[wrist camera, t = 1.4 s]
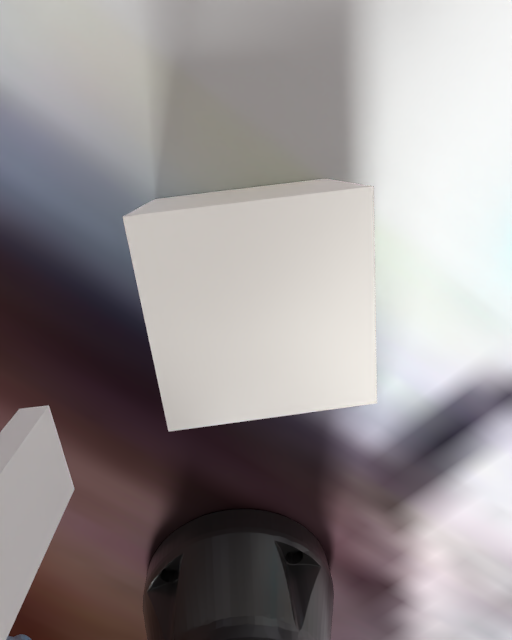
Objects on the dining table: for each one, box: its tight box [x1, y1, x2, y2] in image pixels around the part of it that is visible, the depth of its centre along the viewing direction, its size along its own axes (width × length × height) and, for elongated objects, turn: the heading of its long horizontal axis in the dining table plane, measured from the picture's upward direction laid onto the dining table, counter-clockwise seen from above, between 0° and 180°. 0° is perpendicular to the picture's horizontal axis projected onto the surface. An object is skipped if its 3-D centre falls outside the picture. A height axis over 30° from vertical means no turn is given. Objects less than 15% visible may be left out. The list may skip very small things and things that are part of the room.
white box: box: [123, 178, 377, 432], centre depth 23 cm, size 10×10×9 cm
